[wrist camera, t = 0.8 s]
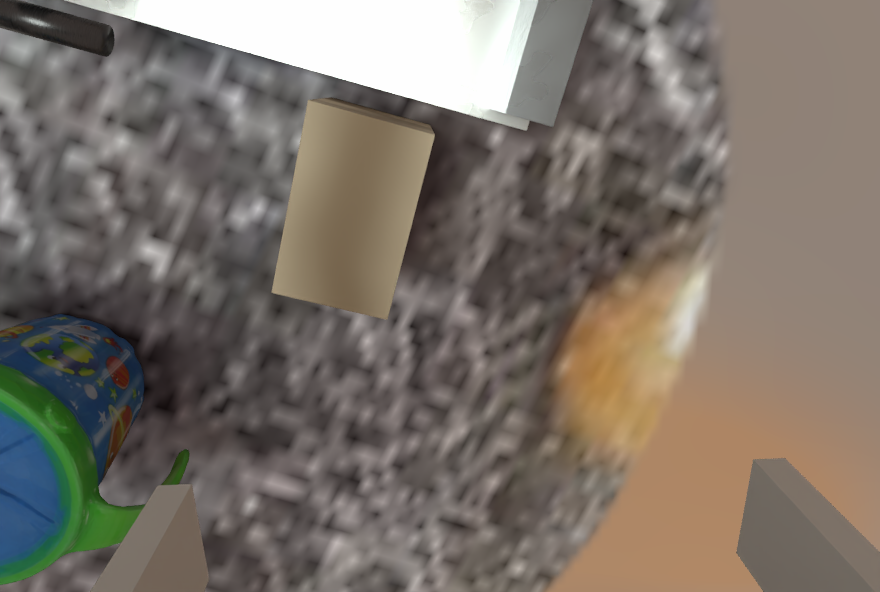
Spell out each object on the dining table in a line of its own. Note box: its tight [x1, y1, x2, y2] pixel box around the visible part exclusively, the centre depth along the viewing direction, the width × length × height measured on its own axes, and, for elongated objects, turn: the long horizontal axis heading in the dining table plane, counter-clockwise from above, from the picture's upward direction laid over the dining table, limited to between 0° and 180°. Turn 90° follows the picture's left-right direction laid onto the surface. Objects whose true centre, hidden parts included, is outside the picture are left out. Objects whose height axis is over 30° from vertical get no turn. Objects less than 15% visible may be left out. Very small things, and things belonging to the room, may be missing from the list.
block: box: [272, 97, 435, 320], centre depth 28 cm, size 5×8×7 cm, turn 165°
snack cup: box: [0, 314, 189, 585], centre depth 29 cm, size 16×10×10 cm
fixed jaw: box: [490, 0, 593, 127], centre depth 25 cm, size 2×9×5 cm, turn 165°
